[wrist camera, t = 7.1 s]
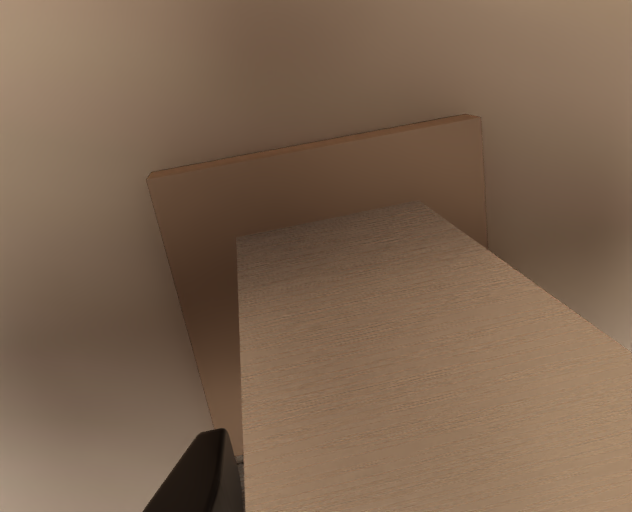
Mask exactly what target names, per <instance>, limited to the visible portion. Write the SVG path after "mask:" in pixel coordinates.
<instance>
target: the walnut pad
mask: <svg viewBox="0 0 632 512" xmlns="http://www.w3.org/2000/svg"><path fill="white" fill-rule="evenodd" d="M146 181H147V185H148V188H149V192H150V196H151V199H152V203H153V207H154V210H155V214H156V218H157V221H158V225H159V229H160V232H161V236H162V239H163V243H164V247H165V250H166V254H167V258H168V261H169V265H170V269H171V272H172V276H173V280H174V283H175V287H176V290H177V294H178V298H179V301H180V305H181V309H182V312H183V316H184V320H185V323H186V327H187V331H188V334H189V338H190V341H191V345H192V349H193V352H194V356H195V360H196V363H197V367H198V371H199V374H200V378H201V382H202V385H203V389H204V393H205V396H206V400H207V403H208V407H209V411H210V414H211V418H212V422H213V425H214V429H219V428H225V429H226V430H227V431H228V434H229V437H230V441H231V444H232V448H233V452H234V456H239V455H243V424H242V393H241V363H240V333H239V303H238V272H237V242H236V238H237V237H242V236H247V235H251V234H256V233H261V232H266V231H271V230H276V229H281V228H286V227H290V226H295V225H300V224H305V223H310V222H315V221H320V220H325V219H329V218H334V217H339V216H344V215H349V214H354V213H359V212H364V211H368V210H373V209H378V208H383V207H388V206H393V205H398V204H403V203H407V202H412V201H417V200H419V201H420V202H422V203H423V204H424V205H426V206H427V207H429V208H430V209H431V210H433V211H434V212H436V213H437V214H438V215H440V216H441V217H443V218H444V219H445V220H447V221H448V222H450V223H451V224H452V225H454V226H455V227H457V228H458V229H459V230H461V231H462V232H464V233H465V234H466V235H468V236H469V237H471V238H472V239H473V240H475V241H476V242H478V243H479V244H480V245H482V246H483V247H485V248H486V249H487V250H488V240H487V221H486V201H485V182H484V162H483V143H482V123H481V117H478V116H473V115H468V114H463V115H458V116H453V117H447V118H442V119H436V120H431V121H426V122H420V123H415V124H409V125H404V126H399V127H393V128H388V129H382V130H377V131H372V132H366V133H361V134H355V135H350V136H345V137H339V138H334V139H328V140H323V141H318V142H312V143H307V144H301V145H296V146H291V147H285V148H280V149H274V150H269V151H264V152H258V153H253V154H248V155H242V156H237V157H231V158H226V159H221V160H215V161H210V162H204V163H199V164H194V165H188V166H183V167H177V168H172V169H167V170H161V171H156V172H151V174H150V175H149V176H148V178H147V179H146Z"/></svg>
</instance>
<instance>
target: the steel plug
mask: <svg viewBox="0 0 632 512" xmlns="http://www.w3.org/2000/svg"><path fill="white" fill-rule="evenodd" d="M236 242H237V272H238V303H239V333H240V363H241V393H242V424H243V454H244V484H245V512H632V353H631V352H630V351H629V350H627V349H626V348H624V347H623V346H622V345H620V344H619V343H617V342H616V341H615V340H613V339H612V338H610V337H609V336H608V335H606V334H605V333H603V332H602V331H601V330H599V329H598V328H596V327H595V326H594V325H592V324H591V323H589V322H588V321H587V320H585V319H584V318H582V317H581V316H580V315H578V314H577V313H575V312H574V311H573V310H571V309H570V308H568V307H567V306H566V305H564V304H563V303H561V302H560V301H559V300H557V299H556V298H554V297H553V296H552V295H550V294H549V293H547V292H546V291H545V290H543V289H542V288H540V287H539V286H538V285H536V284H535V283H533V282H532V281H531V280H529V279H528V278H526V277H525V276H524V275H522V274H521V273H520V272H518V271H517V270H515V269H514V268H513V267H511V266H510V265H508V264H507V263H506V262H504V261H503V260H501V259H500V258H499V257H497V256H496V255H494V254H493V253H492V252H490V251H489V250H487V249H486V248H485V247H483V246H482V245H480V244H479V243H478V242H476V241H475V240H473V239H472V238H471V237H469V236H468V235H466V234H465V233H464V232H462V231H461V230H459V229H458V228H457V227H455V226H454V225H452V224H451V223H450V222H448V221H447V220H445V219H444V218H443V217H441V216H440V215H438V214H437V213H436V212H434V211H433V210H431V209H430V208H429V207H427V206H426V205H424V204H423V203H422V202H420V201H419V200H417V201H412V202H407V203H403V204H398V205H393V206H388V207H383V208H378V209H373V210H368V211H364V212H359V213H354V214H349V215H344V216H339V217H334V218H329V219H325V220H320V221H315V222H310V223H305V224H300V225H295V226H290V227H286V228H281V229H276V230H271V231H266V232H261V233H256V234H251V235H247V236H242V237H237V238H236Z"/></svg>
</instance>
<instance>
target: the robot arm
mask: <svg viewBox="0 0 632 512" xmlns="http://www.w3.org/2000/svg"><path fill="white" fill-rule="evenodd" d="M143 512H243V502H242V491H241V482H240V476H239V471H238V467H237V463H236V460H235V456H234V452H233V448H232V444H231V441H230V437H229V434H228V431H227V430H226V429H225V428H219V429H215V430H210V431H206V432H202V433H200V434H198V435H197V436H196V438H195V439H194V441H193V442H192V443H191V445H190V446H189V448H188V449H187V450H186V452H185V453H184V454H183V456H182V457H181V459H180V460H179V461H178V463H177V464H176V466H175V467H174V468H173V470H172V471H171V473H170V474H169V475H168V477H167V478H166V480H165V481H164V482H163V484H162V485H161V486H160V488H159V489H158V491H157V492H156V493H155V495H154V496H153V498H152V499H151V500H150V502H149V503H148V505H147V506H146V507H145V509H144V510H143Z"/></svg>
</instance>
